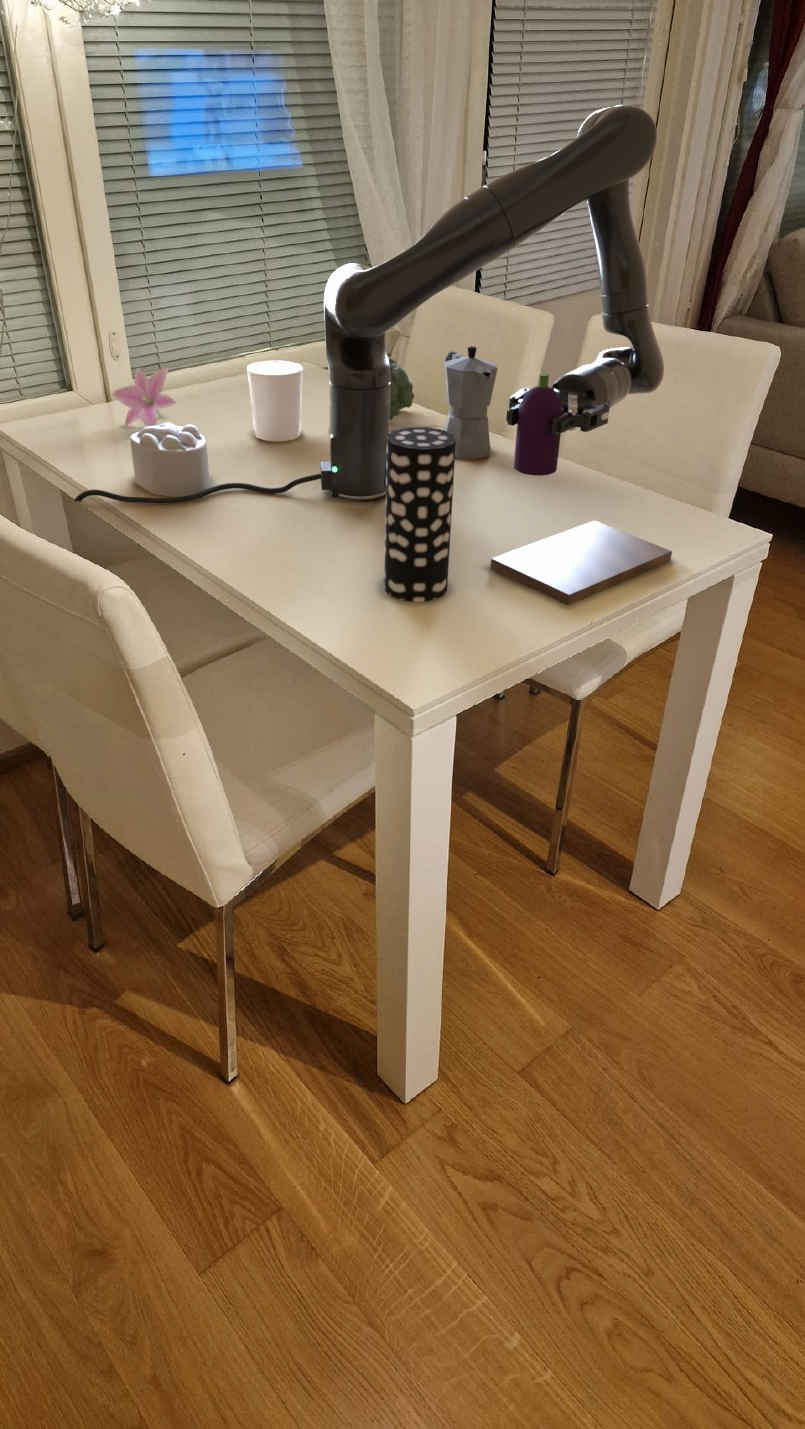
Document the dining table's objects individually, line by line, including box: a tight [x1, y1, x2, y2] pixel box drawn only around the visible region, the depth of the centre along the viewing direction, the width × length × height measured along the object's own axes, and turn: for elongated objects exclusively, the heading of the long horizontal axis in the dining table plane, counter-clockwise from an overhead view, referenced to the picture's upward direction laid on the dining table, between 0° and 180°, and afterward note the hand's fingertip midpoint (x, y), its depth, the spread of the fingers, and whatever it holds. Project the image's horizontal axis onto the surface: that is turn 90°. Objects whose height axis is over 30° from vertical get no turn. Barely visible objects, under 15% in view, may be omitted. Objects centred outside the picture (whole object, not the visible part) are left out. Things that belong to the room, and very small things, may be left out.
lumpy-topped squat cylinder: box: [129, 422, 211, 497], centre depth 156 cm, size 10×13×9 cm
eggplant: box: [513, 373, 563, 477], centre depth 134 cm, size 6×6×13 cm
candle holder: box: [246, 360, 304, 443], centre depth 177 cm, size 10×10×12 cm
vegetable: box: [388, 356, 415, 422], centre depth 188 cm, size 12×13×15 cm
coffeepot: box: [443, 345, 498, 460], centre depth 171 cm, size 15×9×18 cm, turn 25°
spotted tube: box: [383, 426, 456, 603], centre depth 124 cm, size 8×8×20 cm
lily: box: [111, 366, 177, 427], centre depth 182 cm, size 12×12×10 cm
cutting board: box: [490, 520, 673, 606], centre depth 136 cm, size 22×14×2 cm, turn 131°
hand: (532, 422), depth 132 cm, fingers closed on eggplant, 6 cm apart
